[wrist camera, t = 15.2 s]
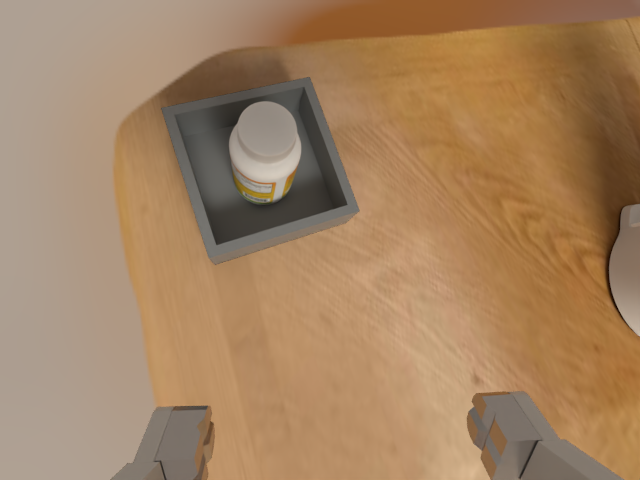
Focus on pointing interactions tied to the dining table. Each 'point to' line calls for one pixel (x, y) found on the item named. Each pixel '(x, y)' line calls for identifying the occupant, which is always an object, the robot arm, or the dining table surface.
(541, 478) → the robot arm
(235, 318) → the dining table surface
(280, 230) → the box
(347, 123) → the dining table surface
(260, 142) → the supplement bottle
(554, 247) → the dining table surface
